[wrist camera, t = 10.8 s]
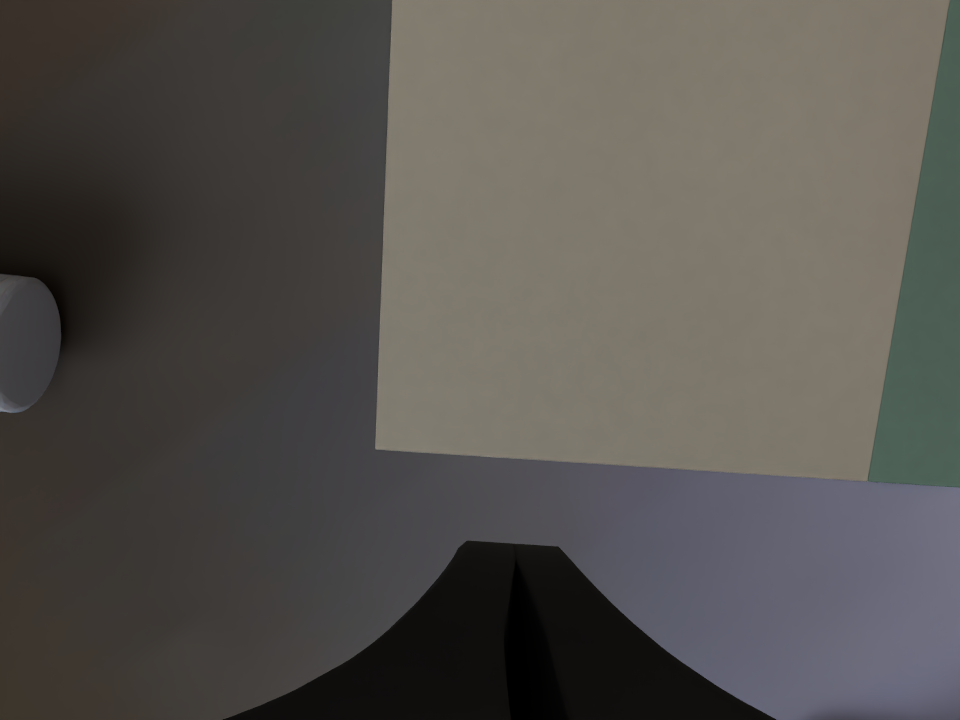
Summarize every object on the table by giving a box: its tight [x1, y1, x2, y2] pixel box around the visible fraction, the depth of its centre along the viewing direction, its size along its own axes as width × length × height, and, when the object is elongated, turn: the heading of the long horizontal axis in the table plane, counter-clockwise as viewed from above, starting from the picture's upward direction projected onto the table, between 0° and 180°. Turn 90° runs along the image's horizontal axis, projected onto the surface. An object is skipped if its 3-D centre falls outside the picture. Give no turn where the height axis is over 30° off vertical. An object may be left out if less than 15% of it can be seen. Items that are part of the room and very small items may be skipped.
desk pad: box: [375, 0, 960, 487], centre depth 19 cm, size 14×24×1 cm, turn 86°
